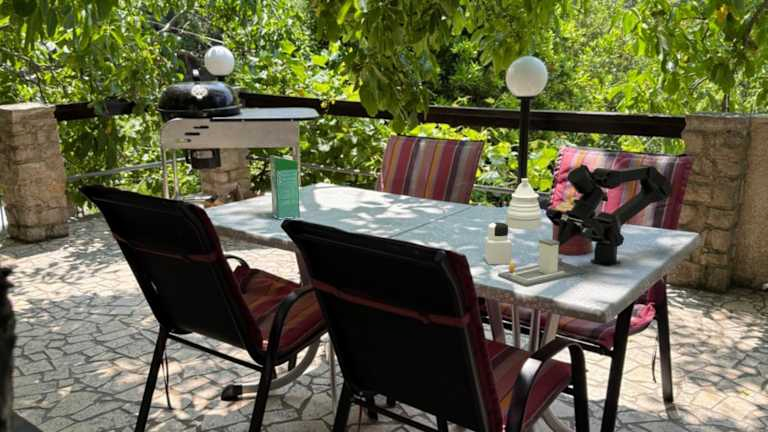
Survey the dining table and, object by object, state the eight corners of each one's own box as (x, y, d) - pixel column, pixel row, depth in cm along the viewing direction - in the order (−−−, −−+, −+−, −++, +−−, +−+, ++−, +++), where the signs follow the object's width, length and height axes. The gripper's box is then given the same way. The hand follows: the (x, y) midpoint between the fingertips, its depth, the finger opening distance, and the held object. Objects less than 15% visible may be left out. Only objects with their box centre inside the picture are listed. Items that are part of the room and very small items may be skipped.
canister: (562, 243, 248) (564, 192, 244) (598, 249, 240) (601, 196, 236) (544, 251, 238) (546, 198, 235) (581, 258, 230) (584, 203, 227)
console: (558, 262, 226) (558, 250, 225) (587, 272, 216) (588, 259, 215) (498, 276, 213) (498, 263, 212) (526, 286, 203) (526, 273, 202)
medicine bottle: (506, 257, 232) (507, 220, 229) (511, 264, 225) (512, 226, 222) (484, 258, 232) (484, 221, 229) (488, 264, 225) (488, 226, 222)
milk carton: (300, 218, 292) (297, 155, 287) (277, 220, 289) (274, 157, 284) (294, 213, 301) (291, 153, 295) (272, 215, 297) (269, 154, 292)
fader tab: (546, 269, 215) (547, 238, 213) (558, 273, 211) (559, 241, 209) (537, 271, 214) (538, 240, 212) (549, 275, 210) (550, 243, 208)
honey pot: (541, 230, 267) (543, 181, 263) (505, 229, 269) (506, 180, 265) (541, 222, 279) (542, 175, 275) (507, 221, 281) (508, 174, 278)
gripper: (624, 225, 212) (595, 268, 209) (576, 214, 228) (549, 254, 225) (607, 202, 207) (577, 245, 203) (559, 192, 222) (530, 232, 219)
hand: (558, 245), depth 213 cm, fingers closed
